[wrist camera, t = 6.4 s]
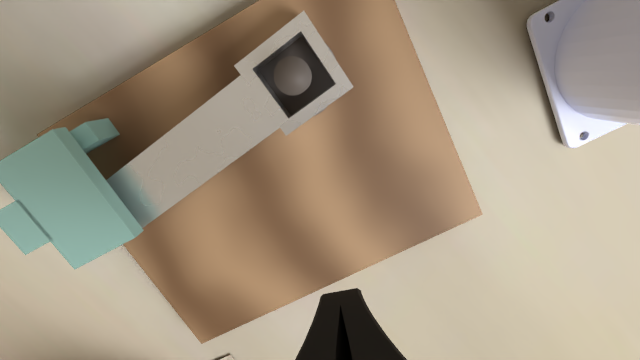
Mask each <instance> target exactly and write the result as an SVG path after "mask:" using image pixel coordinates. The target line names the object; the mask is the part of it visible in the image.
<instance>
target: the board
mask: <svg viewBox="0 0 640 360" xmlns="http://www.w3.org/2000/svg"><path fill="white" fill-rule="evenodd" d="M303 11H304V12H305V13H306V15H307V16H308V18H309V19H310V21H311V22H312V24H313V25H314V27H315V28H316V30H317V31H318V33H319V35H320V36H321V38H322V39H323V41H324V42H325V44H326V45H327V47H328V48H329V50H330V51H331V53H332V54H333V56H334V58H335V59H336V61H337V62H338V64H339V65H340V67H341V68H342V70H343V71H344V73H345V74H346V76H347V77H348V79H349V81H350V82H351V84H352V85H353V88H352V89H350V90H349V91H348V92H346V93H345V94H344V95H342V96H341V97H339V98H338V99H337V100H335V101H334V102H332V103H331V104H330V105H328V106H327V107H326V108H324V109H323V110H321V111H320V112H319V113H317V114H316V115H314V116H313V117H312V118H310V119H309V120H308V121H306V122H305V123H303V124H302V125H301V126H299V127H298V128H297V129H295V130H294V131H292V132H291V133H290V134H288V135H287V136H286V135H285V134H284V132H283V131H282V130H281V128H279V129H277V130H276V131H275V132H273V133H272V134H271V135H269V136H268V137H267V138H265V139H264V140H262V141H261V142H260V143H258V144H257V145H256V146H254V147H253V148H251V149H250V150H249V151H247V152H246V153H245V154H243V155H242V156H241V157H239V158H238V159H236V160H235V161H234V162H232V163H231V164H230V165H228V166H227V167H225V168H224V169H223V170H221V171H220V172H219V173H217V174H216V175H214V176H213V177H212V178H210V179H209V180H208V181H206V182H205V183H204V184H202V185H201V186H199V187H198V188H197V189H195V190H194V191H193V192H191V193H190V194H188V195H187V196H186V197H184V198H183V199H182V200H180V201H179V202H178V203H176V204H175V205H173V206H172V207H171V208H169V209H168V210H167V211H165V212H164V213H162V214H161V215H160V216H158V217H157V218H156V219H154V220H153V221H152V222H150V223H149V224H147V225H146V226H145V227H143V228H142V229H143V230H144V231H143V232H141V233H140V234H139V235H138V236H137V237H136V238H134V239H132V240H130V241H128V242H126V243H124V244H123V245H124V246H125V247H126V249H127V250H128V251H129V252H130V254H131V255H132V256H133V257H134V259H135V260H136V261H137V263H138V264H139V265H140V266H141V268H142V269H143V270H144V271H145V273H146V274H147V275H148V277H149V278H150V279H151V280H152V282H153V283H154V284H155V285H156V287H157V288H158V289H159V290H160V292H161V293H162V294H163V296H164V297H165V298H166V299H167V301H168V302H169V303H170V304H171V306H172V307H173V308H174V309H175V311H176V312H177V313H178V315H179V316H180V317H181V318H182V320H183V321H184V322H185V323H186V325H187V326H188V327H189V328H190V330H191V331H192V332H193V334H194V335H195V336H196V337H197V339H198V340H199V341H200V342H201V344H202V343H204V342H206V341H209V340H211V339H213V338H215V337H217V336H219V335H222V334H224V333H226V332H228V331H230V330H232V329H235V328H237V327H239V326H241V325H243V324H246V323H248V322H250V321H252V320H254V319H256V318H259V317H261V316H263V315H265V314H267V313H269V312H272V311H274V310H276V309H278V308H280V307H282V306H285V305H287V304H289V303H291V302H293V301H295V300H298V299H300V298H302V297H304V296H306V295H308V294H311V293H313V292H315V291H317V290H319V289H322V288H324V287H326V286H328V285H330V284H332V283H335V282H337V281H339V280H341V279H343V278H345V277H348V276H350V275H352V274H354V273H356V272H358V271H361V270H363V269H365V268H367V267H369V266H371V265H374V264H376V263H378V262H380V261H382V260H385V259H387V258H389V257H391V256H393V255H395V254H398V253H400V252H402V251H404V250H406V249H408V248H411V247H413V246H415V245H417V244H419V243H421V242H424V241H426V240H428V239H430V238H432V237H434V236H437V235H439V234H441V233H443V232H445V231H448V230H450V229H452V228H454V227H456V226H458V225H461V224H463V223H465V222H467V221H469V220H471V219H474V218H476V217H478V216H480V215H482V212H481V209H480V207H479V204H478V202H477V200H476V197H475V195H474V192H473V190H472V187H471V185H470V183H469V180H468V178H467V175H466V173H465V170H464V168H463V166H462V163H461V161H460V158H459V156H458V153H457V151H456V149H455V146H454V144H453V141H452V139H451V136H450V134H449V132H448V129H447V127H446V124H445V122H444V119H443V117H442V115H441V112H440V110H439V107H438V105H437V102H436V100H435V98H434V95H433V93H432V90H431V88H430V85H429V83H428V81H427V78H426V76H425V73H424V71H423V68H422V66H421V64H420V61H419V59H418V56H417V54H416V51H415V49H414V47H413V44H412V42H411V39H410V37H409V34H408V32H407V30H406V27H405V25H404V22H403V20H402V17H401V15H400V13H399V10H398V8H397V5H396V3H395V0H259V1H257V2H256V3H254V4H252V5H251V6H249V7H247V8H246V9H244V10H242V11H241V12H239V13H237V14H236V15H234V16H232V17H231V18H229V19H227V20H226V21H224V22H222V23H221V24H219V25H218V26H216V27H214V28H213V29H211V30H209V31H208V32H206V33H204V34H203V35H201V36H199V37H198V38H196V39H194V40H193V41H191V42H189V43H188V44H186V45H184V46H183V47H181V48H179V49H178V50H176V51H174V52H173V53H171V54H169V55H168V56H166V57H165V58H163V59H161V60H160V61H158V62H156V63H155V64H153V65H151V66H150V67H148V68H146V69H145V70H143V71H141V72H140V73H138V74H136V75H135V76H133V77H131V78H130V79H128V80H126V81H125V82H123V83H121V84H120V85H118V86H116V87H115V88H113V89H111V90H110V91H108V92H107V93H105V94H103V95H102V96H100V97H98V98H97V99H95V100H93V101H92V102H90V103H88V104H87V105H85V106H83V107H82V108H80V109H78V110H77V111H75V112H73V113H72V114H70V115H68V116H67V117H65V118H63V119H62V120H60V121H58V122H57V123H55V124H53V125H52V126H50V127H49V128H47V129H45V130H44V131H42V132H40V133H39V134H37V136H38V137H40V136H42V135H44V134H45V133H47V132H49V131H50V130H52V129H57V128H63V127H66V128H67V129H68V131H69V132H70V131H71V130H73V129H75V128H76V127H78V126H80V125H81V124H83V123H85V122H88V121H94V120H100V119H105V118H109V120H110V121H111V122H112V124H113V125H114V127H115V128H116V130H117V131H118V132H119V134H120V135H118V136H116V137H114V138H113V139H111V140H109V141H108V142H106V143H104V144H102V145H101V146H99V147H97V148H95V149H94V150H92V151H90V152H89V153H87V154H86V155H87V156H88V157H89V159H90V160H91V161H92V163H93V164H94V165H95V166H96V168H97V169H98V170H99V172H100V173H101V174H102V176H103V177H104V178H105V180H107V179H108V178H110V177H111V176H112V175H114V174H115V173H116V172H117V171H119V170H120V169H121V168H123V167H124V166H125V165H126V164H128V163H129V162H130V161H132V160H133V159H134V158H135V157H137V156H138V155H139V154H140V153H142V152H143V151H144V150H146V149H147V148H148V147H149V146H151V145H152V144H153V143H155V142H156V141H157V140H158V139H160V138H161V137H162V136H163V135H165V134H166V133H167V132H169V131H170V130H171V129H172V128H174V127H175V126H176V125H178V124H179V123H180V122H181V121H183V120H184V119H185V118H187V117H188V116H189V115H190V114H192V113H193V112H194V111H195V110H197V109H198V108H199V107H201V106H202V105H203V104H204V103H206V102H207V101H208V100H210V99H211V98H212V97H213V96H215V95H216V94H217V93H218V92H220V91H221V90H222V89H224V88H225V87H226V86H227V85H229V84H230V83H231V82H233V81H234V80H235V79H236V78H238V77H239V76H240V73H239V72H238V71H237V69H236V68H235V67H234V65H236V64H237V63H238V62H239V61H241V60H242V59H243V58H244V57H246V56H247V55H248V54H249V53H251V52H252V51H253V50H255V49H256V48H257V47H258V46H260V45H261V44H262V43H263V42H265V41H266V40H267V39H268V38H270V37H271V36H272V35H273V34H275V33H276V32H277V31H279V30H280V29H281V28H282V27H284V26H285V25H286V24H287V23H289V22H290V21H291V20H292V19H294V18H295V17H296V16H297V15H299V14H300V13H301V12H303ZM258 71H259V72H260V73H261V75H262V76H263V78H264V79H265V80H266V82H267V83H268V84H269V86H270V87H271V89H272V90H273V91H274V93H275V94H276V95H277V97H278V98H279V100H280V101H281V102H282V104H283V105H284V106H285V108H286V109H287V111H288V112H289V113H290V115H292V114H294V113H295V112H296V111H298V110H299V109H301V108H302V107H303V106H305V105H306V104H307V103H309V102H310V101H311V100H313V99H314V98H316V97H317V96H318V95H320V94H321V93H322V92H324V91H325V90H326V89H328V88H329V87H331V86H332V85H333V84H334V82H333V81H332V79H331V78H330V76H329V75H328V73H327V72H326V70H325V69H324V67H323V66H322V64H321V63H320V61H319V60H318V58H317V57H316V55H315V54H314V52H313V51H312V49H311V48H310V46H309V45H308V43H307V42H306V40H305V39H304V37H303V36H301V37H300V38H299V39H298V40H296V41H295V42H294V43H292V44H291V45H290V46H289V47H287V48H286V49H285V50H283V51H282V52H281V53H280V54H278V55H277V56H276V57H274V58H273V59H272V60H271V61H269V62H268V63H267V64H265V65H264V66H263V67H262V68H260V69H259V70H258Z"/></svg>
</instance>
